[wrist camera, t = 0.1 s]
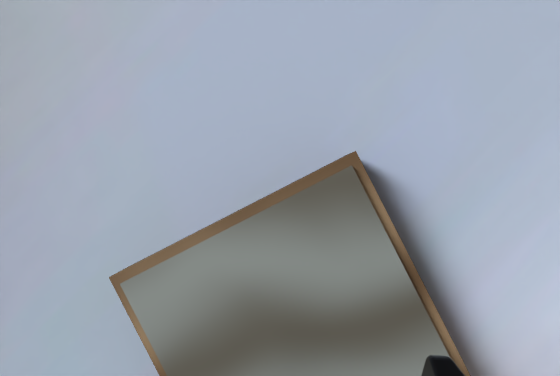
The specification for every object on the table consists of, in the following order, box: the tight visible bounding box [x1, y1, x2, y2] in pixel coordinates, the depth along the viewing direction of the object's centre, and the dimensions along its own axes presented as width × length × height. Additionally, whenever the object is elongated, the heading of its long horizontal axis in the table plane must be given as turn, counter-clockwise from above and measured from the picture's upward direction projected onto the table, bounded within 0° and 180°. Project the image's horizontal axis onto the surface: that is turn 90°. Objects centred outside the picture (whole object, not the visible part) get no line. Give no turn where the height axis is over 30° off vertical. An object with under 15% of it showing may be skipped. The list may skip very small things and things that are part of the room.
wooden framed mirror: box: [109, 151, 470, 376], centre depth 23 cm, size 13×13×3 cm
